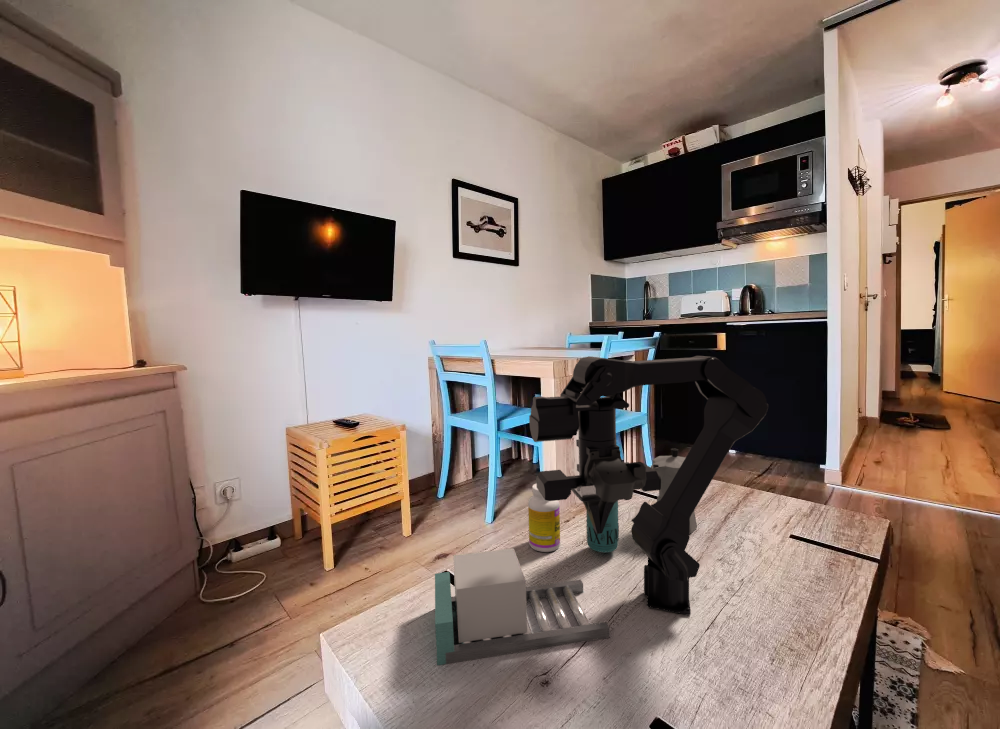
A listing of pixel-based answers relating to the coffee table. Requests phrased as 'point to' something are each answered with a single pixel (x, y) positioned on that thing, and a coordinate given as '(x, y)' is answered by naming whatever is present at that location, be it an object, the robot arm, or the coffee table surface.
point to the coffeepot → (670, 476)
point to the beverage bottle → (604, 533)
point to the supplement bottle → (543, 522)
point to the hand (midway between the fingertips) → (598, 532)
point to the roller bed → (525, 641)
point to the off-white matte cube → (489, 595)
